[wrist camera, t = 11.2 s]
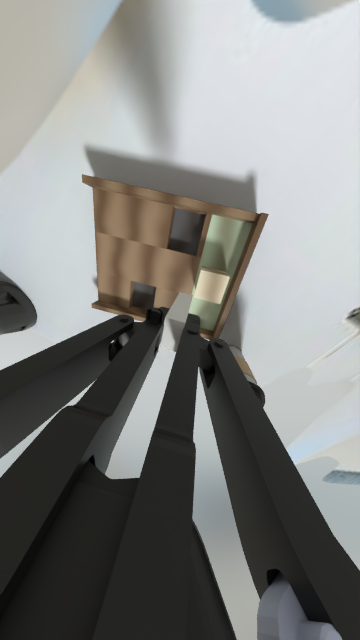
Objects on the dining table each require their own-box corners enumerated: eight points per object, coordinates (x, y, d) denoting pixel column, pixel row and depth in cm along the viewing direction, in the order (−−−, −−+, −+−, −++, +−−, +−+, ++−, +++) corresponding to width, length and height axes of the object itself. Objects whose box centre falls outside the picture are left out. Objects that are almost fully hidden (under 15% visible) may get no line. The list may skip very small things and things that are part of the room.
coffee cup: (241, 370, 43) (256, 427, 29) (208, 363, 43) (208, 415, 30) (253, 344, 38) (277, 396, 25) (216, 336, 39) (220, 383, 26)
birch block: (195, 290, 32) (193, 297, 28) (202, 266, 30) (200, 269, 25) (218, 296, 32) (220, 304, 27) (226, 272, 30) (230, 276, 25)
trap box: (104, 300, 40) (88, 309, 35) (101, 185, 29) (77, 171, 23) (215, 330, 38) (216, 344, 33) (256, 220, 27) (268, 214, 22)
